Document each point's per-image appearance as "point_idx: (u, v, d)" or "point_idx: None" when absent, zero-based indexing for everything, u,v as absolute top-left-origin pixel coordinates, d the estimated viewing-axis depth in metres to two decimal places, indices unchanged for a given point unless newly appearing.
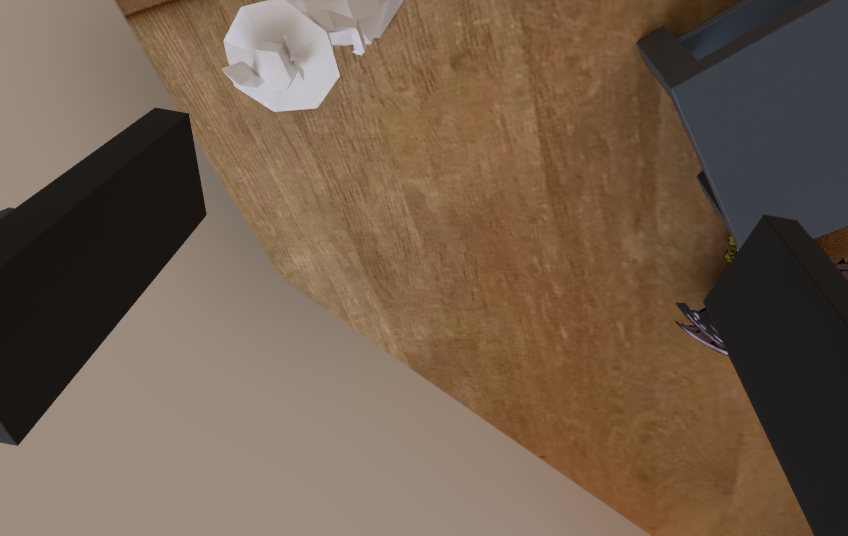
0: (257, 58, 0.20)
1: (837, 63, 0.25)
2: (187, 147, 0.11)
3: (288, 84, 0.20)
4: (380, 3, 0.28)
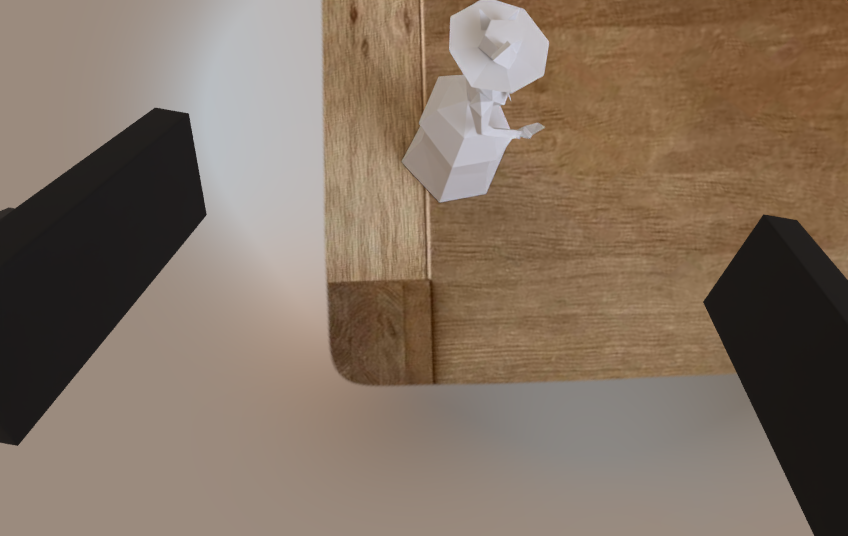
0: (492, 38, 0.21)
1: None
2: (188, 146, 0.11)
3: (520, 25, 0.21)
4: None
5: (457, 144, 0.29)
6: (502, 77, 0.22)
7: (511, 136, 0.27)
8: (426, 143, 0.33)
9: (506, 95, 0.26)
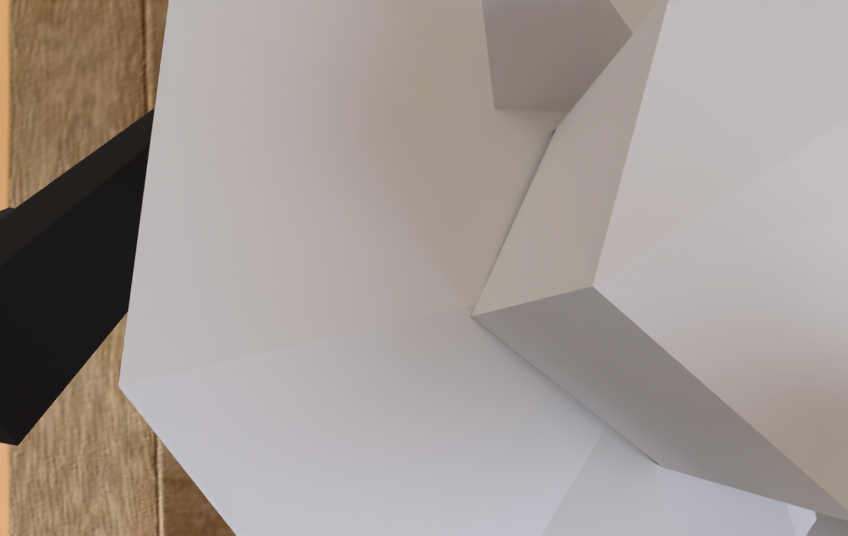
0: (741, 337, 0.01)
1: None
2: None
3: None
4: None
5: None
6: None
7: None
8: None
9: None
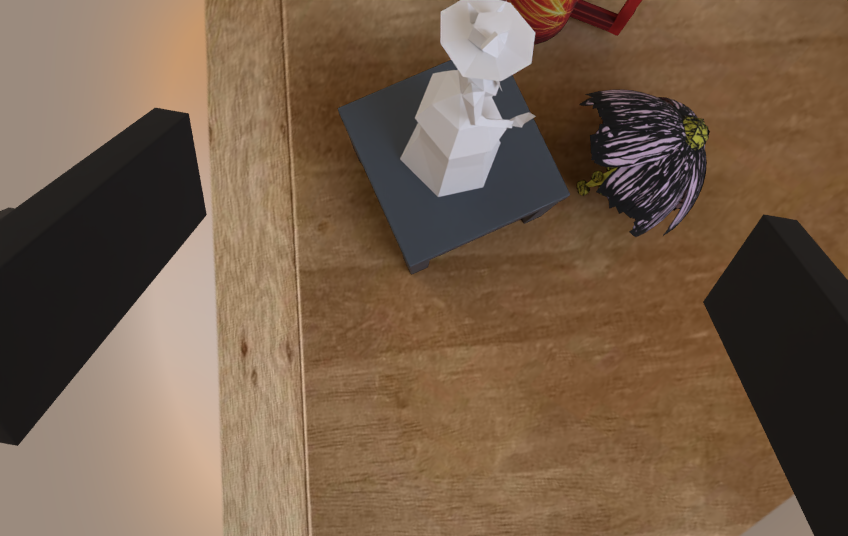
0: (480, 29, 0.22)
1: None
2: (188, 147, 0.11)
3: (507, 16, 0.23)
4: None
5: (452, 136, 0.30)
6: (491, 66, 0.23)
7: (503, 126, 0.28)
8: (423, 138, 0.34)
9: (497, 86, 0.27)
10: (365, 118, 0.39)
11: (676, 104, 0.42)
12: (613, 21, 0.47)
